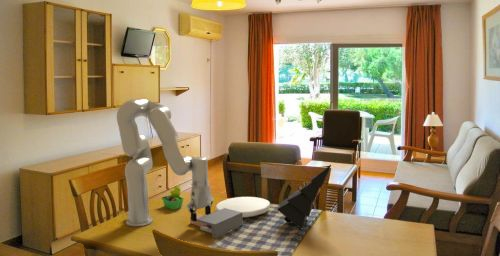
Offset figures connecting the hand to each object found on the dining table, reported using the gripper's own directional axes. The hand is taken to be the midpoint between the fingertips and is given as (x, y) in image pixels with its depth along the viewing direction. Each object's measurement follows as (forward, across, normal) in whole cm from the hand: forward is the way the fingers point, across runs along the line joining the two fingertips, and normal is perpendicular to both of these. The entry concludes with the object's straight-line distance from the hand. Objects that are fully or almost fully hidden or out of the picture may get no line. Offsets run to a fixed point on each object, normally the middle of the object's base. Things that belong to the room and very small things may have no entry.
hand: (201, 217), depth 204 cm
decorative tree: (+3, +28, -41) cm, 50 cm away
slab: (+3, 0, -1) cm, 4 cm away
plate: (+3, +25, -6) cm, 26 cm away
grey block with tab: (+3, 0, -11) cm, 12 cm away
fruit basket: (+3, +10, +30) cm, 32 cm away
